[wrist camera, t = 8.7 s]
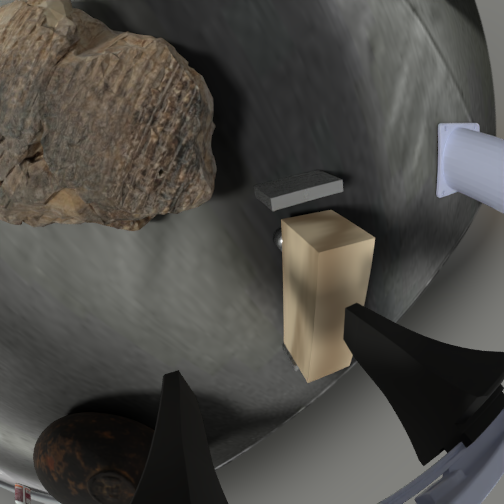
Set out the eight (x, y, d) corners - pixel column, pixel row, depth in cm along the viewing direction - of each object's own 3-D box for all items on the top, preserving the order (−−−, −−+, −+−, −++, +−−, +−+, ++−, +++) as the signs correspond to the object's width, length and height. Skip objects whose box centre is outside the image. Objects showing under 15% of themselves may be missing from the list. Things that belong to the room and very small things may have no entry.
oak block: (331, 209, 20) (375, 237, 16) (322, 329, 26) (349, 365, 22) (281, 219, 19) (318, 252, 15) (283, 342, 25) (307, 382, 21)
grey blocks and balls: (318, 169, 19) (342, 179, 17) (326, 331, 28) (341, 350, 25) (253, 185, 18) (270, 198, 16) (282, 349, 27) (295, 370, 25)
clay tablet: (257, 85, 16) (12, -2, 6) (290, 80, 12) (-18, -21, 2) (162, 265, 20) (-54, 181, 10) (166, 308, 16) (-90, 204, 6)
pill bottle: (14, 484, 30) (14, 508, 23) (15, 481, 30) (15, 507, 22) (29, 490, 33) (30, 514, 26) (31, 488, 32) (32, 513, 25)
